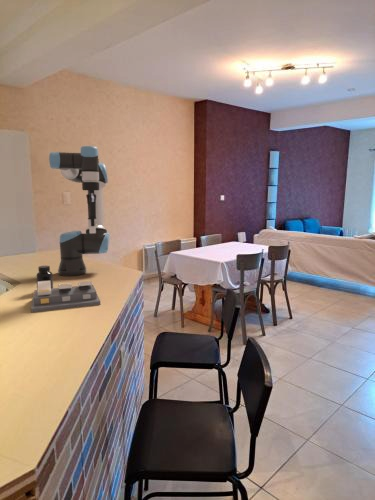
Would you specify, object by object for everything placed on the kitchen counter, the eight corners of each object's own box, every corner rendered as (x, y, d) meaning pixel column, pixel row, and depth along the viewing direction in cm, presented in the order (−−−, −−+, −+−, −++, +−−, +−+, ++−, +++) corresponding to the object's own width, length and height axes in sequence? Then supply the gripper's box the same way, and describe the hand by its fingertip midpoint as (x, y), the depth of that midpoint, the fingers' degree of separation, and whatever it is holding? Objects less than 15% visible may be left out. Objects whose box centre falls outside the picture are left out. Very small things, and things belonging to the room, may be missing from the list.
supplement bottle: (36, 294, 156) (34, 268, 154) (38, 290, 163) (36, 265, 160) (52, 293, 158) (51, 267, 156) (54, 289, 164) (52, 264, 162)
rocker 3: (78, 287, 152) (77, 283, 152) (90, 286, 154) (89, 282, 154) (79, 285, 144) (79, 281, 144) (92, 284, 145) (91, 280, 146)
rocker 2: (58, 287, 149) (58, 283, 149) (70, 286, 151) (70, 282, 151) (58, 289, 141) (58, 284, 141) (71, 287, 143) (71, 283, 143)
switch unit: (32, 300, 148) (31, 287, 147) (95, 293, 158) (95, 282, 157) (31, 312, 134) (30, 298, 133) (100, 304, 143) (100, 291, 142)
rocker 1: (37, 285, 146) (37, 281, 146) (50, 283, 148) (50, 280, 147) (37, 295, 139) (37, 291, 138) (51, 294, 140) (51, 290, 140)
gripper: (80, 181, 163) (83, 231, 167) (83, 181, 151) (85, 235, 155) (97, 181, 166) (99, 231, 170) (101, 181, 154) (102, 234, 158)
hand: (92, 233), depth 163 cm, fingers closed
